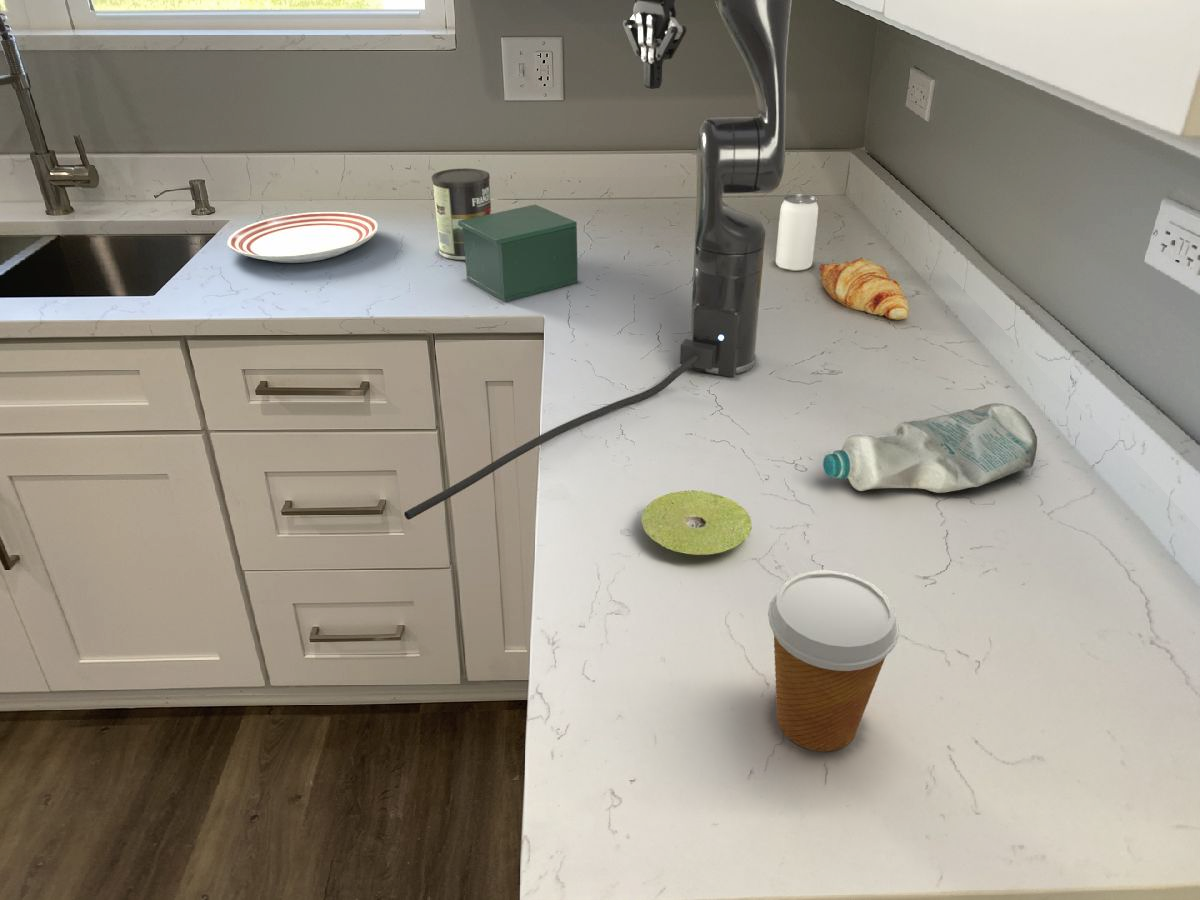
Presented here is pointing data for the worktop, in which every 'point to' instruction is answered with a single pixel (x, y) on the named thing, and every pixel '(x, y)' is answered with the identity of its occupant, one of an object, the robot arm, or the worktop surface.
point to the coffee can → (458, 205)
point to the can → (797, 232)
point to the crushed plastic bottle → (939, 452)
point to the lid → (516, 224)
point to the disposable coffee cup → (828, 654)
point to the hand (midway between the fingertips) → (652, 87)
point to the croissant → (865, 288)
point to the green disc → (696, 522)
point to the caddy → (522, 263)
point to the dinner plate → (303, 236)
